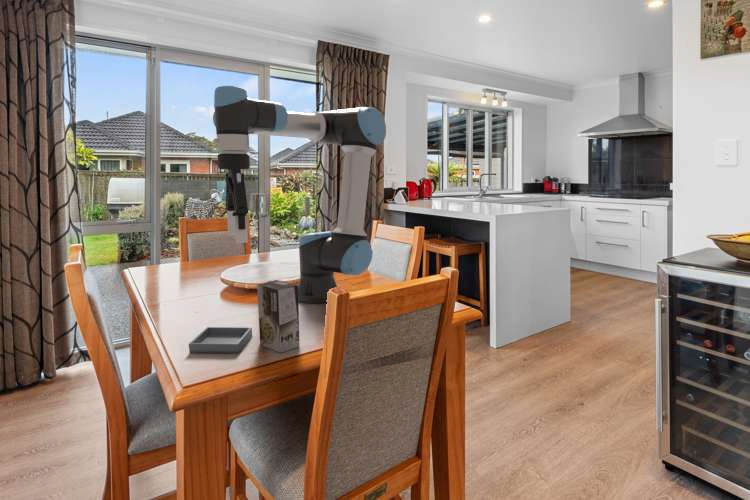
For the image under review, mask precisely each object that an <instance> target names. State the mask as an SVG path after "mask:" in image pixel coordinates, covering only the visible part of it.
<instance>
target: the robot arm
mask: <svg viewBox="0 0 750 500" xmlns="http://www.w3.org/2000/svg"><path fill="white" fill-rule="evenodd" d="M213 98H214V99H213V102H214V103H213V108H214V112H213V114H212V115H213V116H212V122H213V125H214V126H215V132H216V133H215V134H216V138H214V140H213V142H214V143H216V147H217V148H216V149H217V151H218V152H219V153H218V154H217V157H216V158H217V168H218V170H228V171H227V172H226V173H225V204H224V205H225V209H226V210H227V211H226V216H227V235H228V236H229V237H231V236H233V237H234V236H235V244H247V243H249V239H248V238H249V237H248V235H249V234H248V216H247V215H248V213H249V208H248V201H247V193H246V192H247V191H246V184H245V173H244V172H243V173H242V171H241V170H249V169H250V167H251V161H250V159H251V158H250V155H249V154H248V152H250V135H260V136H273V137H276V136H277V137H288V138H289V137H290V138H301V139H302V138H303V139H308V140H310V141H311V142H315V143H323V144H330V145H337V146H340V148H341V150H342V151H343V153H344V159H343V169H342V177H341V178H342V179H341V187H340V195H339V197H340V198H339V207H338V216H337V223H336V227H335V228H334V229H333V230H332V231H320V232H319V231H318V232H310V233H305V234H304V233H303V234H302V235H301V236H300V238H299V246H298V250H299V272H300V274H299V279H298V282H297V285H298V302H301V303H304V304H305V303H306V304H325V303H326V300H327V292H328V291H329V289H331V288H334V287H338V285H337V281H336V277H335V273H337V274H342V275H345V276H360V275H362V274H363V273H364V272H366V270H367V269H368V268H369V267H370V265H371V262H372V259H373V255H374V254H373V253H374V252H373V248H372V244H371V243H370V242H369V241H368V235H367V233H366V232H365V230H364V224H365V217H366V216H365V215H366V208H367V207H366V206H367V198H368V197H367V196H368V188H369V179H370V169H371V162H372V161H371V160H372V157H373V156H374V155H375V154H376V153H377V150H378V145H380V144H382V143H383V142H384V140H385V139H386V135H387V124H386V121H385V119H384V117H383V114H382V113H381V112H380V111H379V110H378V109H377V108H376V107H372V106H369V107H368V106H361V107H355V108H354V107H353V108H345V109H337V110H336V109H335V110H330V111H312V112H311V113H304V112H295V111H290V110H289V111H288V110H287V109H286V107H285V106H284V105H283V104H282V103H279V102H275V101H269V100H268V101H267V100H260V99H253V98H249V97H248V93H247V89H246V88H245V87H242V86H236V85H221V86H218V87H216V88H215V89H214V95H213Z"/></svg>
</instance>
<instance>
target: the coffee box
mask: <svg viewBox="0 0 750 500" xmlns="http://www.w3.org/2000/svg"><path fill="white" fill-rule="evenodd" d="M256 287H257V310H258V311H257V312H258V327H259V328H258V329H259V344H260V345H261V346H263V347H265V348H268V349H271V350H273V351H275V352H278V353H284V352H286V351H291V350H293V349H296V348H299V347H300V345H301V344H300V313H299V312H300V311H299V309H300V307H299V301H298V284H296V283H295V284H294V283H291V282H286V281H283V280H279V279H274V280H270V281H265V282H261V283H257V284H256Z"/></svg>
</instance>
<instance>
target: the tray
mask: <svg viewBox="0 0 750 500" xmlns="http://www.w3.org/2000/svg"><path fill="white" fill-rule="evenodd" d="M252 338H253V328H252V326H251V327H248V326H247V327H242V326H241V327H240V326H235V327H234V326H231V327H230V326H206V328H204V329H203V330H202V332H200V333H199V334H198V335H197V336H196V337H195V338H193V339H192V340H191V341H190V342H189V343H188V348H189V354H196V355H197V354H198V355H200V354H206V355H207V354H213V355H217V354H220V355H221V354H222V355H224V354H225V355H239V354H240V353H241V351H242V350H243V349H244V348H245V346H246V345H247V344H248V342H249V341H250V340H251V339H252Z"/></svg>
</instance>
